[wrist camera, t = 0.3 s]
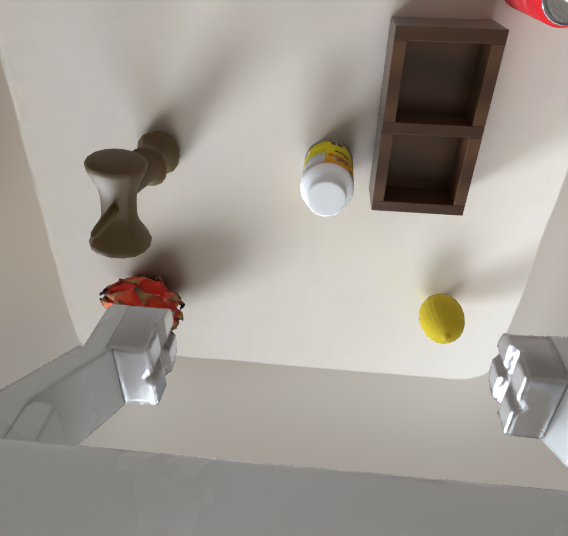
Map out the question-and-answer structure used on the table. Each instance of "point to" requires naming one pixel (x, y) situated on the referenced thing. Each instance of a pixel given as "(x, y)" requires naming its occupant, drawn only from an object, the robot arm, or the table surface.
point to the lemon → (442, 318)
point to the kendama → (127, 192)
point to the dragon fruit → (143, 295)
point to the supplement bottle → (327, 177)
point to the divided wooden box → (433, 112)
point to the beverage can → (544, 10)
